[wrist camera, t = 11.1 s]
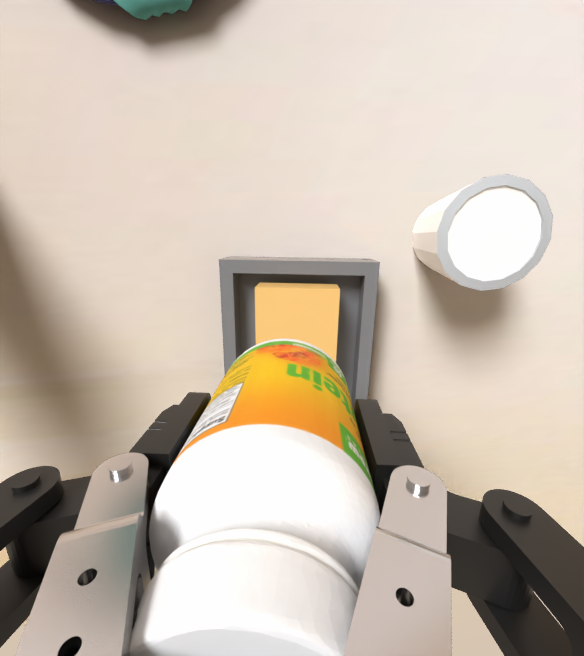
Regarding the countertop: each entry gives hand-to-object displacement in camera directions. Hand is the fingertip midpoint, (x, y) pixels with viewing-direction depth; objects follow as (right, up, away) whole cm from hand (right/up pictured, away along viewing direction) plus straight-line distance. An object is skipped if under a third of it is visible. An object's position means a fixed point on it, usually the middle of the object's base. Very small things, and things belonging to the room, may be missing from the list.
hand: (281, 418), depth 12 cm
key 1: (+1, +4, +14) cm, 14 cm away
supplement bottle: (0, +1, +2) cm, 2 cm away
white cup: (+13, +11, +14) cm, 22 cm away
